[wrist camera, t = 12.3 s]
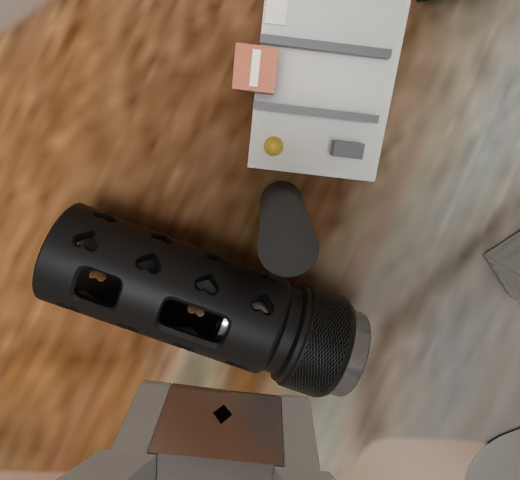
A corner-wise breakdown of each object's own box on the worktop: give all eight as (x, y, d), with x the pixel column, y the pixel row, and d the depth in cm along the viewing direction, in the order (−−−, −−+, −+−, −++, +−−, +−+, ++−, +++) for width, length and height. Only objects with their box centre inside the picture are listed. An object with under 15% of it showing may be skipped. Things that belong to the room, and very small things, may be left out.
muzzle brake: (99, 188, 40) (44, 214, 30) (359, 286, 43) (387, 339, 33) (76, 272, 43) (19, 321, 33) (322, 359, 46) (337, 429, 36)
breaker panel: (395, 10, 35) (418, -8, 30) (364, 174, 39) (379, 185, 34) (266, -6, 35) (266, -27, 29) (249, 161, 39) (246, 169, 34)
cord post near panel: (304, 183, 40) (323, 222, 26) (298, 223, 41) (313, 280, 27) (263, 178, 39) (260, 215, 26) (258, 219, 41) (254, 273, 27)
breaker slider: (277, 54, 32) (279, 47, 28) (273, 95, 33) (274, 93, 29) (239, 50, 32) (235, 41, 28) (236, 90, 33) (231, 88, 29)
